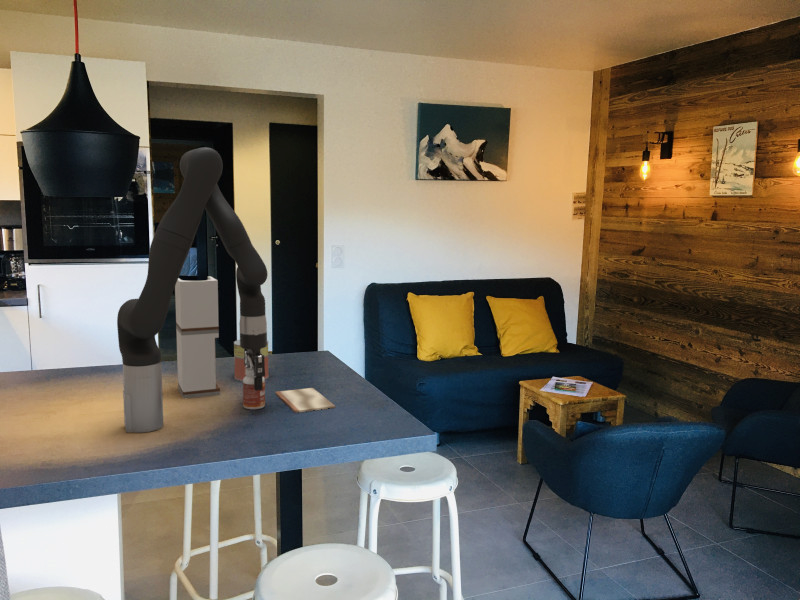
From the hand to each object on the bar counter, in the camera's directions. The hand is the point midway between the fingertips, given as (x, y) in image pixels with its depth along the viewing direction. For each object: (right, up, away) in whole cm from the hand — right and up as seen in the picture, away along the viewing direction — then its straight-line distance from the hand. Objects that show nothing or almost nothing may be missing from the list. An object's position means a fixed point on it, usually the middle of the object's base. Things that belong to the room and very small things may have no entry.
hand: (254, 385), depth 186 cm
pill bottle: (0, -6, +1) cm, 6 cm away
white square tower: (-20, -4, +14) cm, 25 cm away
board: (+13, -5, +7) cm, 16 cm away
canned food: (-8, -1, +32) cm, 33 cm away
